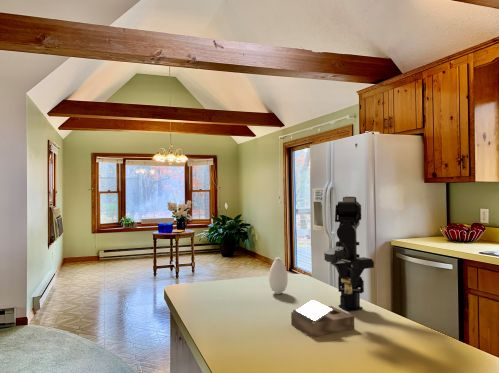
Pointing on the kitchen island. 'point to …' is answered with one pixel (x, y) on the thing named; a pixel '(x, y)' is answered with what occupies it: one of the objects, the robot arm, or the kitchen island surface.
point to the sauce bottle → (278, 276)
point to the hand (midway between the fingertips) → (348, 285)
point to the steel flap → (314, 310)
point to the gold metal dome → (347, 285)
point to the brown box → (323, 322)
